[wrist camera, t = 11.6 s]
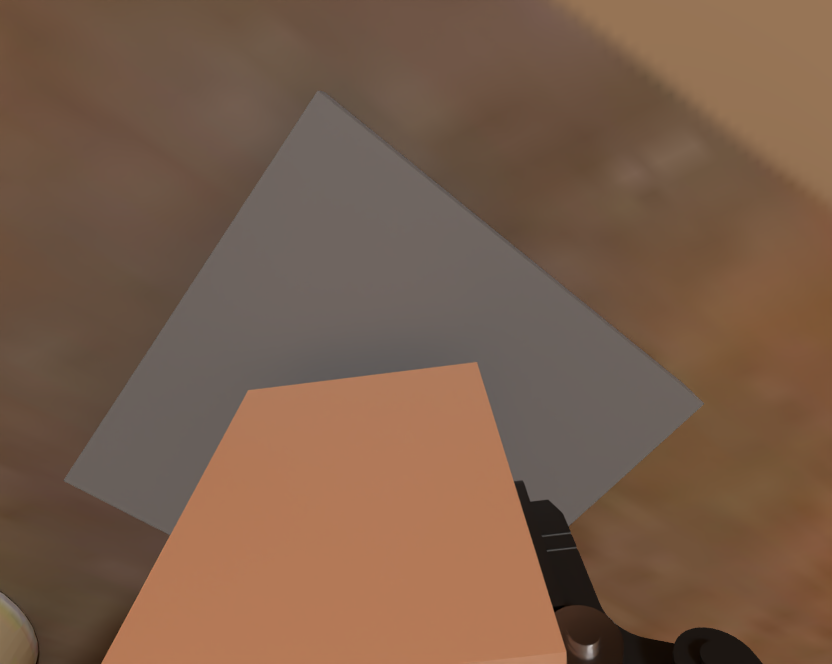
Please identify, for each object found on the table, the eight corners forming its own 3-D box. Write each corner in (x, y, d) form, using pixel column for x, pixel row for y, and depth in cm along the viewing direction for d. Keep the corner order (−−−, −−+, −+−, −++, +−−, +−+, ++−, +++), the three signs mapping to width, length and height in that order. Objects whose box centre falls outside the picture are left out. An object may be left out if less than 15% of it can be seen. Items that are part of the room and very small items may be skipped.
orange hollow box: (477, 362, 14) (566, 652, 6) (499, 623, 18) (573, 998, 10) (248, 390, 14) (78, 706, 7) (318, 644, 18) (261, 1029, 10)
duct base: (684, 384, 17) (908, 599, 10) (417, 632, 21) (427, 921, 14) (324, 91, 14) (232, 71, 6) (84, 457, 18) (-152, 718, 10)
